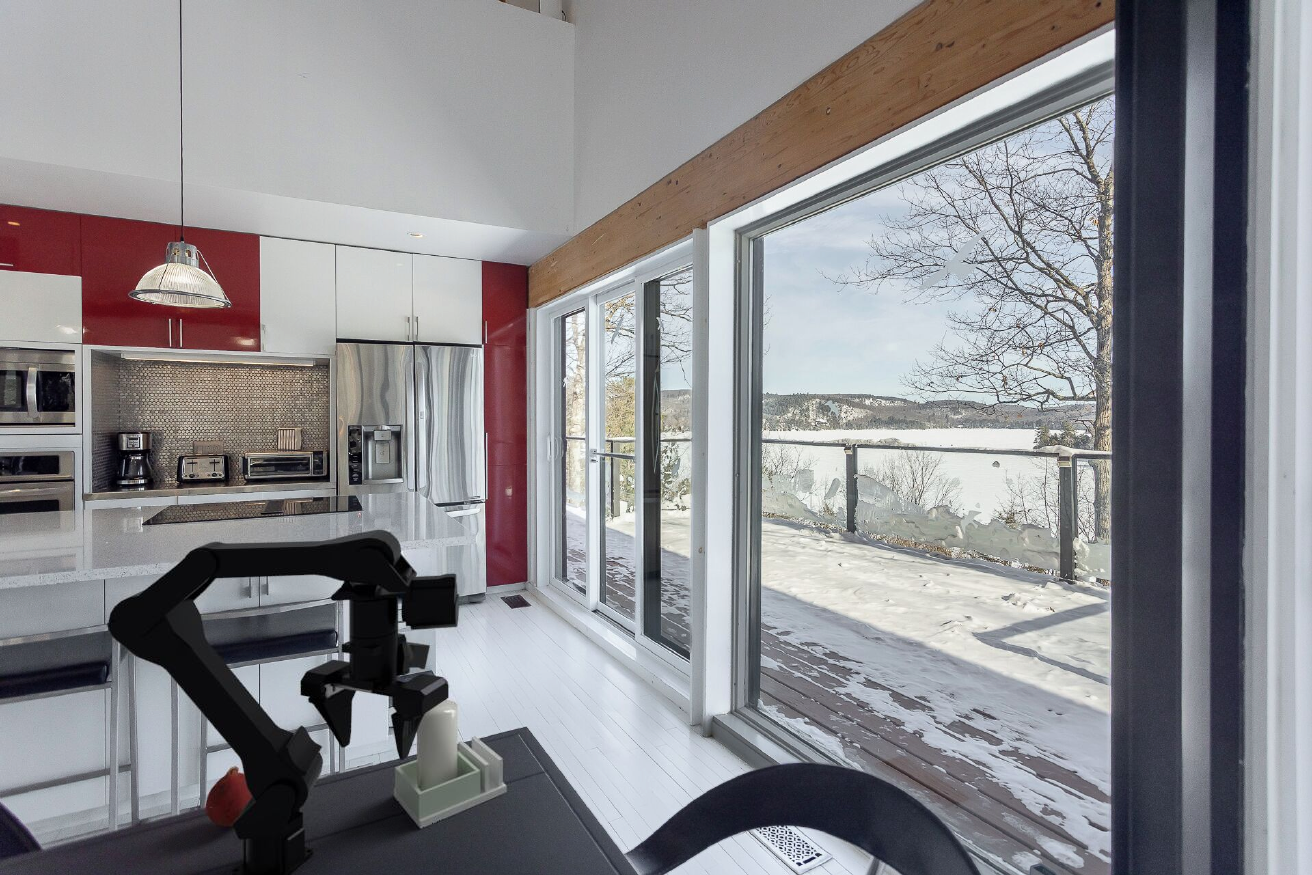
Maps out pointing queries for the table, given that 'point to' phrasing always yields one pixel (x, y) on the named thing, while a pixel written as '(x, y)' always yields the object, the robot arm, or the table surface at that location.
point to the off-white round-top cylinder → (437, 746)
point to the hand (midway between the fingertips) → (374, 751)
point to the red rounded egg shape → (227, 798)
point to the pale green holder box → (452, 785)
